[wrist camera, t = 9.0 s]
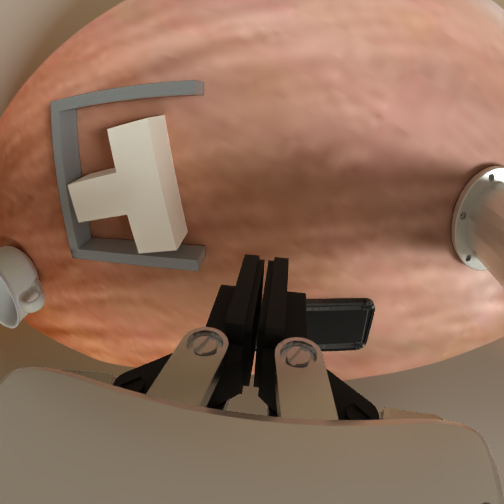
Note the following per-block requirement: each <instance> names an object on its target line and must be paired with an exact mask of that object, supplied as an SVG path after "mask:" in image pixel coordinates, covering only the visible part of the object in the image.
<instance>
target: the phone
mask: <svg viewBox="0 0 504 504" xmlns="http://www.w3.org/2000/svg"><path fill="white" fill-rule="evenodd" d="M262 300H263V299H262ZM261 306H262V303H261ZM374 311H375V306H374V304H373V301H372V300H371V299H368V298H357V299H306V324H307V339H308V340H311V341H312V342H314V343H316V345H317V346H318V347H319V348H320V350H321V351H345V350H359V349H361V348H363V347H364V346H365V345H366V343H367V339H368V335H369V331H370V328H371V324H372V320H373V316H374ZM256 349H257V342H256V348H255V351H256Z"/></svg>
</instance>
